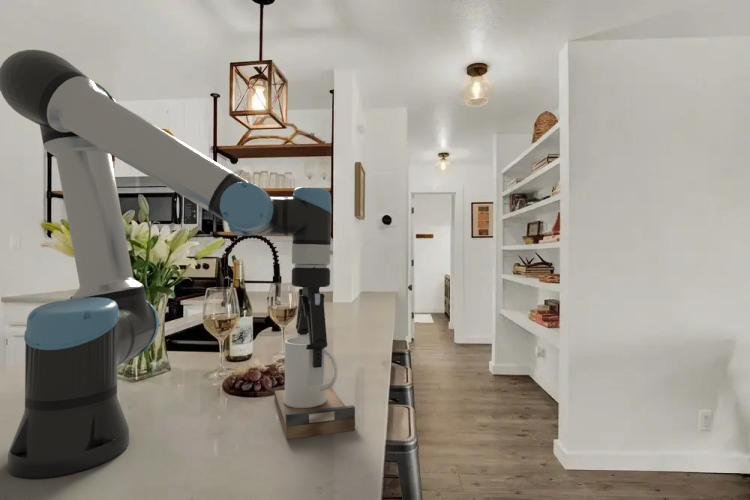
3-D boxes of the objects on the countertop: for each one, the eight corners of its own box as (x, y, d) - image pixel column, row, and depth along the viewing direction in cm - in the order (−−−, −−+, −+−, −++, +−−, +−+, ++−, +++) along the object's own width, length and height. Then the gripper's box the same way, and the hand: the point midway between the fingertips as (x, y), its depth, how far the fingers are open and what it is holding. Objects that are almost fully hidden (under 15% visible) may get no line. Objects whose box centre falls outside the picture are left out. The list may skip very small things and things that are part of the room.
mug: (348, 402, 83) (348, 341, 83) (318, 415, 76) (319, 348, 76) (305, 391, 90) (305, 334, 90) (274, 402, 83) (274, 341, 83)
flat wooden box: (286, 439, 71) (286, 415, 71) (274, 400, 90) (274, 381, 90) (355, 430, 75) (355, 407, 75) (329, 394, 94) (330, 376, 94)
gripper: (345, 268, 73) (343, 392, 73) (317, 265, 97) (315, 358, 96) (302, 268, 71) (299, 396, 70) (284, 264, 94) (282, 360, 94)
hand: (309, 374), depth 83 cm, fingers open, 13 cm apart
